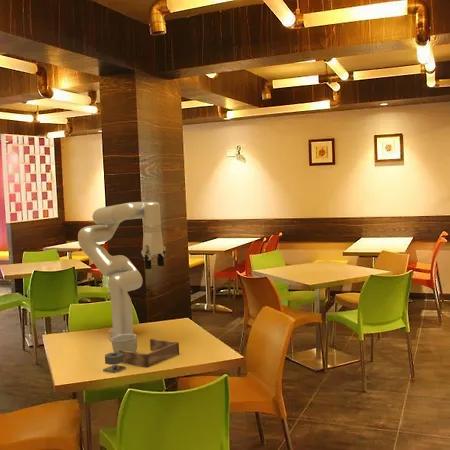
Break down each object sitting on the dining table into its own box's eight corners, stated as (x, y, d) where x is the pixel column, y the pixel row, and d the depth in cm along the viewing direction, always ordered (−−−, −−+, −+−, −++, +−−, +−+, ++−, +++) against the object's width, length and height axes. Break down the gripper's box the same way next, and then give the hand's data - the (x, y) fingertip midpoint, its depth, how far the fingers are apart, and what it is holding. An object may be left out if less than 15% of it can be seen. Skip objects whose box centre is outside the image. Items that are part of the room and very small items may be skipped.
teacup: (139, 356, 250) (138, 338, 250) (113, 359, 247) (112, 341, 247) (134, 348, 263) (133, 330, 263) (110, 351, 260) (109, 333, 260)
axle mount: (103, 370, 233) (102, 362, 233) (114, 366, 238) (114, 357, 238) (114, 372, 229) (114, 364, 229) (126, 368, 235) (125, 359, 234)
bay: (119, 362, 243) (118, 350, 243) (152, 349, 260) (151, 338, 259) (147, 367, 234) (146, 355, 234) (179, 354, 251) (178, 342, 251)
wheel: (101, 363, 233) (101, 356, 232) (114, 358, 238) (113, 351, 238) (114, 365, 229) (113, 358, 228) (126, 360, 234) (126, 353, 234)
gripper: (156, 228, 274) (158, 264, 275) (134, 231, 258) (136, 270, 260) (170, 227, 270) (172, 264, 271) (148, 231, 255) (150, 270, 256)
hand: (154, 267), depth 265 cm, fingers open, 9 cm apart
